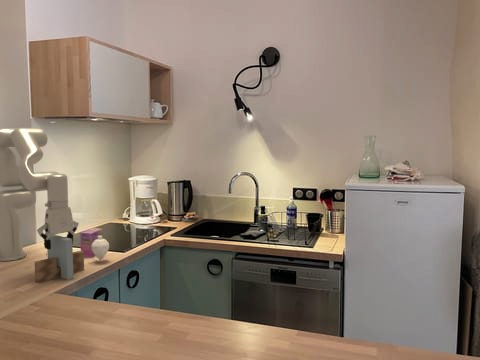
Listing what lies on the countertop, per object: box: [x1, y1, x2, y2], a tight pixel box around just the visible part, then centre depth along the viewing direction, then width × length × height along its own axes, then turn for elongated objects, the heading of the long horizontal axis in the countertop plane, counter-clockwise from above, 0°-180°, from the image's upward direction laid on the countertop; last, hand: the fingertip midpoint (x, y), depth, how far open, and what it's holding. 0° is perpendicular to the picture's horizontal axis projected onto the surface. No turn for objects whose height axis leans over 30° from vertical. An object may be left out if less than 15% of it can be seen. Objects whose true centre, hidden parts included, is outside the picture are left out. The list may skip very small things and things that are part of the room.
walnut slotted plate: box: [34, 250, 85, 284], centre depth 171 cm, size 20×2×8 cm, turn 144°
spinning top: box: [91, 235, 110, 263], centre depth 190 cm, size 8×8×12 cm
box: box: [79, 227, 103, 259], centre depth 202 cm, size 10×6×12 cm, turn 168°
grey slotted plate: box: [46, 234, 74, 281], centre depth 171 cm, size 14×2×16 cm, turn 55°
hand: (59, 246), depth 171 cm, fingers open, 9 cm apart
